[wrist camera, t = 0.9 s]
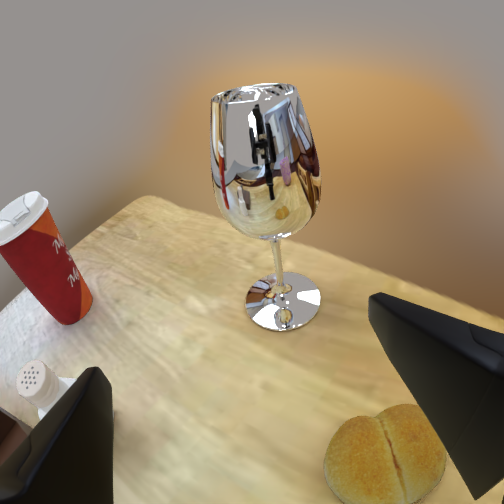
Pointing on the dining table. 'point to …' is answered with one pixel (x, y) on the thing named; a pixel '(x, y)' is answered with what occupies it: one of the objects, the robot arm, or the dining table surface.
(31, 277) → the coffee cup
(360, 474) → the bread roll
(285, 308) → the wineglass
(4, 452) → the spice rack
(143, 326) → the dining table surface
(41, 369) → the pepper shaker
